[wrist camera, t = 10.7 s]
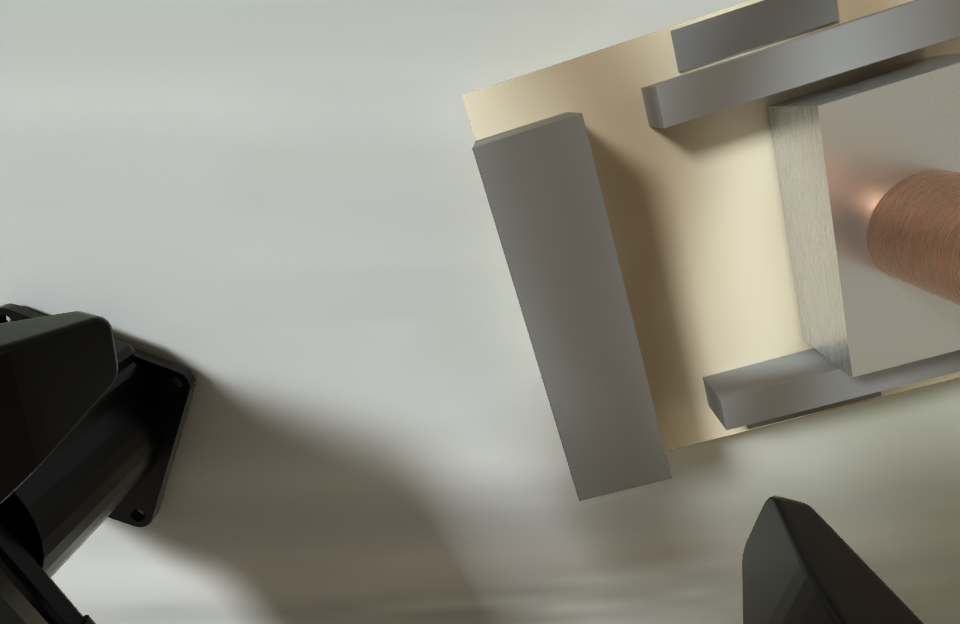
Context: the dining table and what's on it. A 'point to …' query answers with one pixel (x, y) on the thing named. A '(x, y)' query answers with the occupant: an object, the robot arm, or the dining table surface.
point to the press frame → (679, 226)
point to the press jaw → (875, 213)
